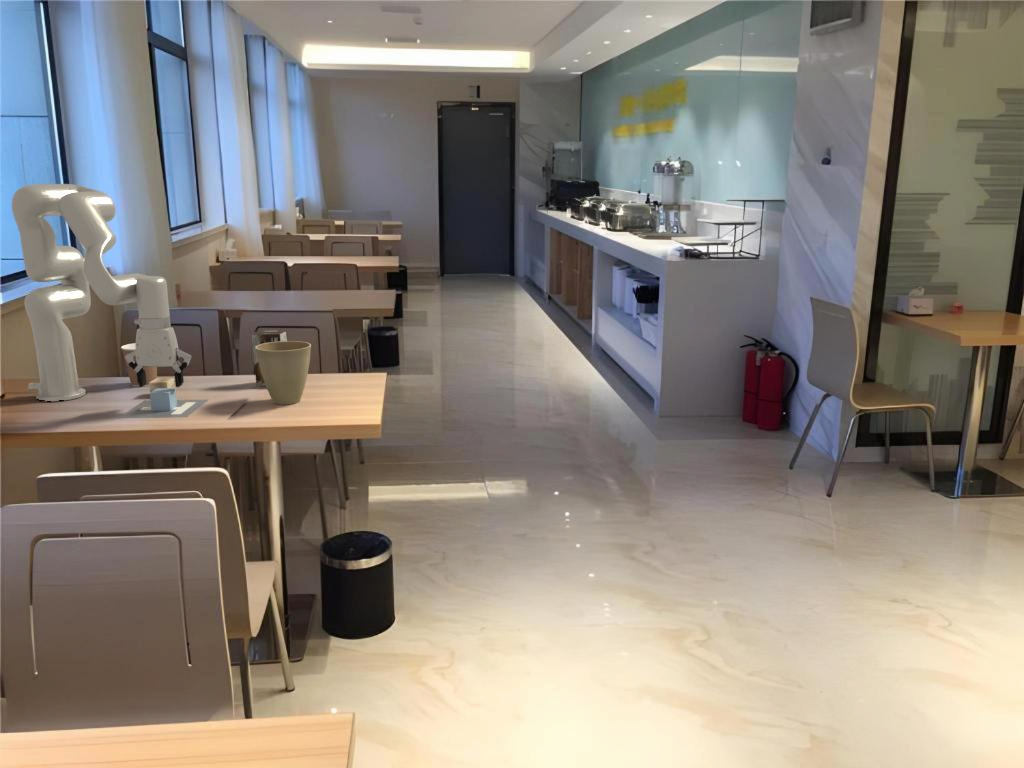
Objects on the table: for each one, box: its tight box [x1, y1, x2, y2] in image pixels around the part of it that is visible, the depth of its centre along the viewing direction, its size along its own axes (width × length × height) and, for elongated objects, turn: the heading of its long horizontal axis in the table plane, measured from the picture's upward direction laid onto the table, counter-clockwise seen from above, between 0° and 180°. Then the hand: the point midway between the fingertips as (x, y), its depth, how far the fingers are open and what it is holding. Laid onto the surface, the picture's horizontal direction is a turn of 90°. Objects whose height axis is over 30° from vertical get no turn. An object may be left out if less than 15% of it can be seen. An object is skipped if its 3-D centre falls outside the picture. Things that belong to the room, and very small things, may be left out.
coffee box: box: [251, 329, 289, 387], centre depth 252 cm, size 9×6×16 cm
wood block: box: [148, 377, 176, 393], centre depth 239 cm, size 5×5×5 cm
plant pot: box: [255, 340, 312, 406], centre depth 232 cm, size 15×15×16 cm
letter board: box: [117, 399, 210, 419], centre depth 225 cm, size 18×18×1 cm
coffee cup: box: [120, 342, 158, 387], centre depth 253 cm, size 10×10×12 cm
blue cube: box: [149, 387, 178, 411], centre depth 224 cm, size 5×5×5 cm
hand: (161, 385), depth 225 cm, fingers open, 9 cm apart
